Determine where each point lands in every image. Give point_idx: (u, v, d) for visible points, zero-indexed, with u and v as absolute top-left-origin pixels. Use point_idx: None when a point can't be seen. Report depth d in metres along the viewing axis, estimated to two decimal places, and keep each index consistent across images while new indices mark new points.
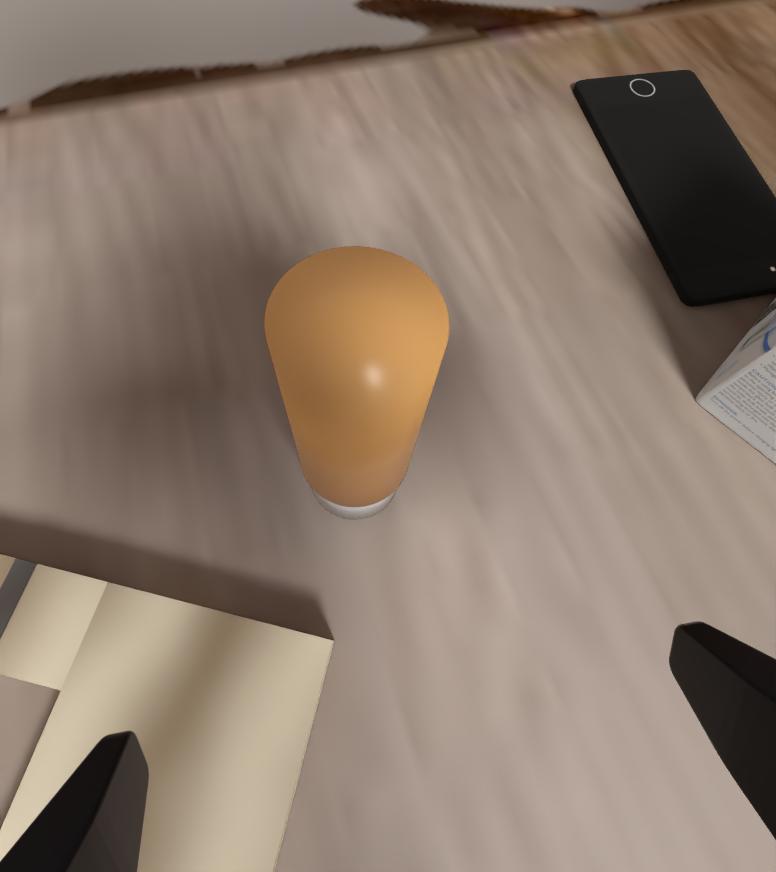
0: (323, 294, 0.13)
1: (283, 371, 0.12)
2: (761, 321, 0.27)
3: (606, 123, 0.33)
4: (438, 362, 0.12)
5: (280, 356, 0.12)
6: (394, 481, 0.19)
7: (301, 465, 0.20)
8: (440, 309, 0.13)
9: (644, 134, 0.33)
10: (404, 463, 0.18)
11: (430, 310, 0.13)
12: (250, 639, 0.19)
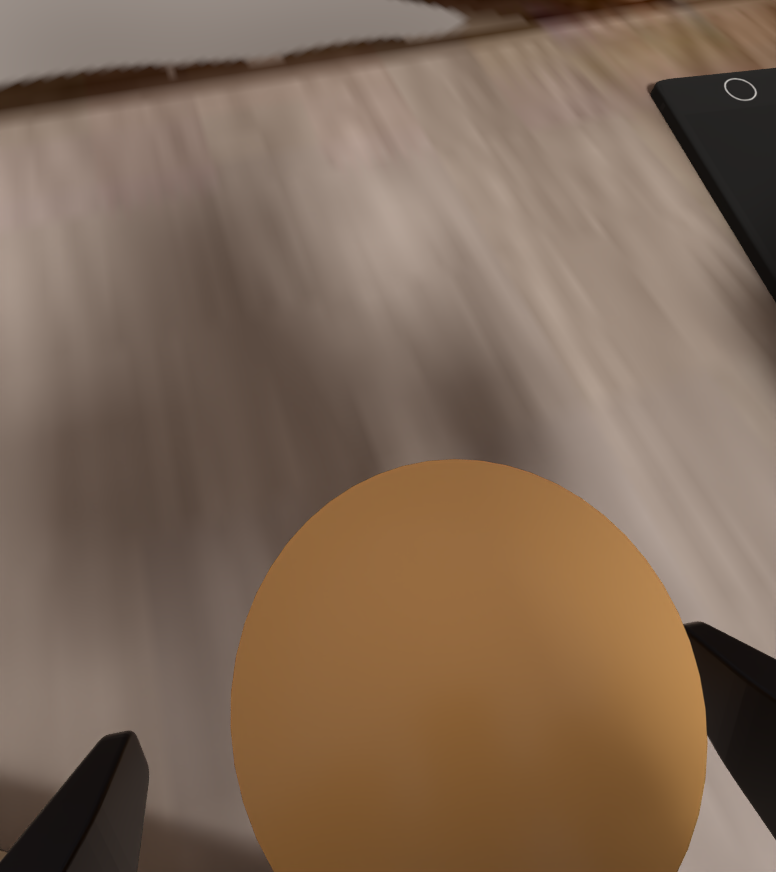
0: (380, 604, 0.05)
1: None
2: None
3: (700, 135, 0.26)
4: (693, 815, 0.05)
5: (272, 827, 0.04)
6: None
7: None
8: (673, 640, 0.05)
9: (750, 150, 0.26)
10: None
11: (648, 643, 0.05)
12: None
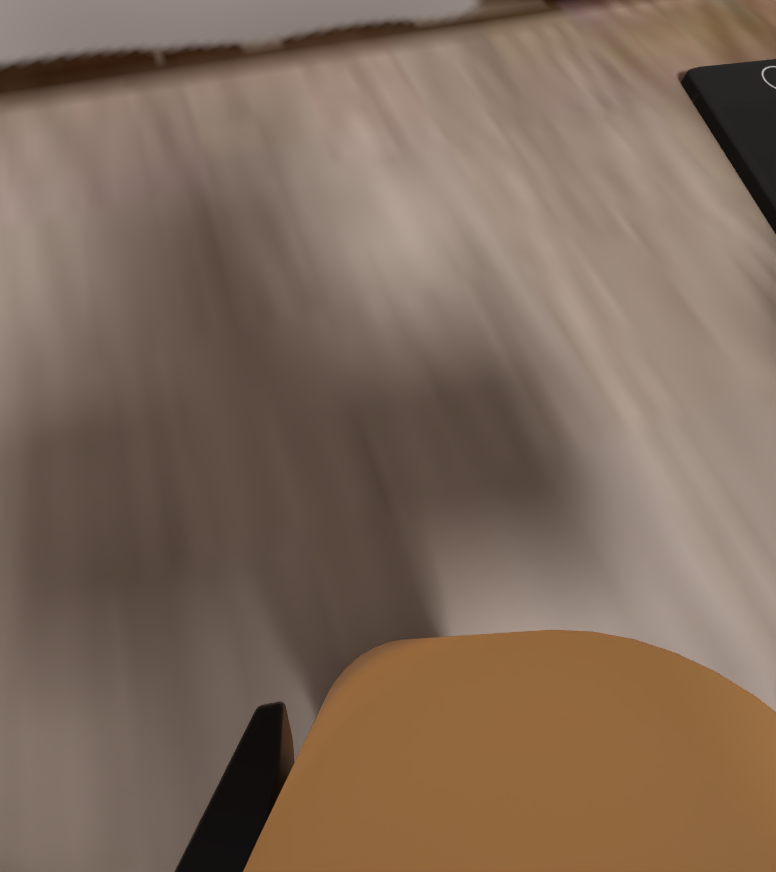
0: None
1: None
2: None
3: (737, 128, 0.23)
4: None
5: None
6: None
7: None
8: None
9: None
10: None
11: None
12: None
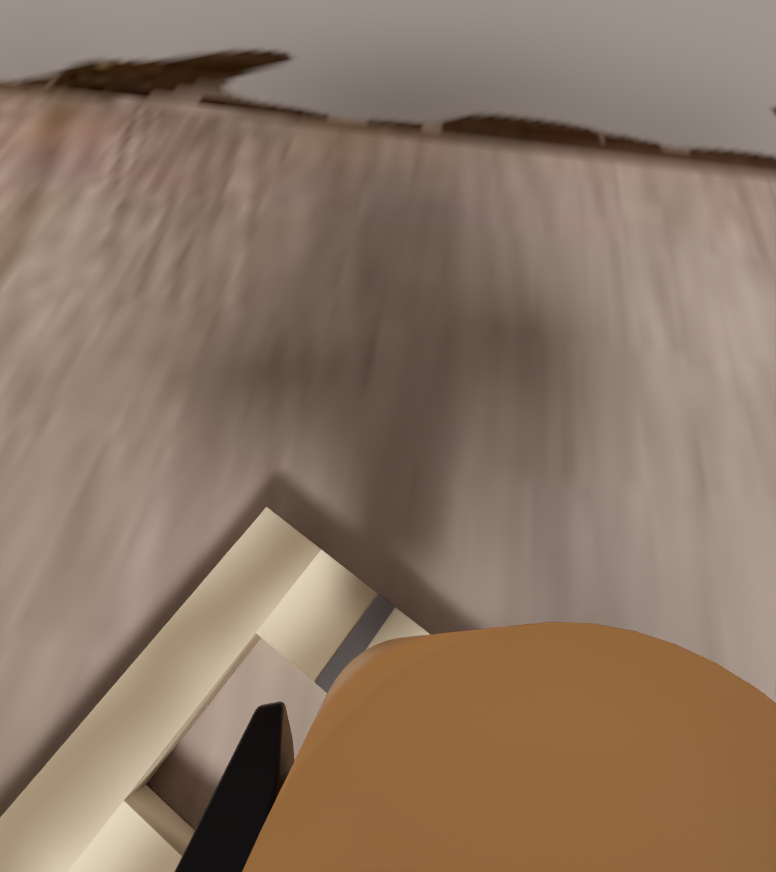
0: None
1: None
2: None
3: None
4: None
5: None
6: None
7: None
8: None
9: None
10: None
11: None
12: None
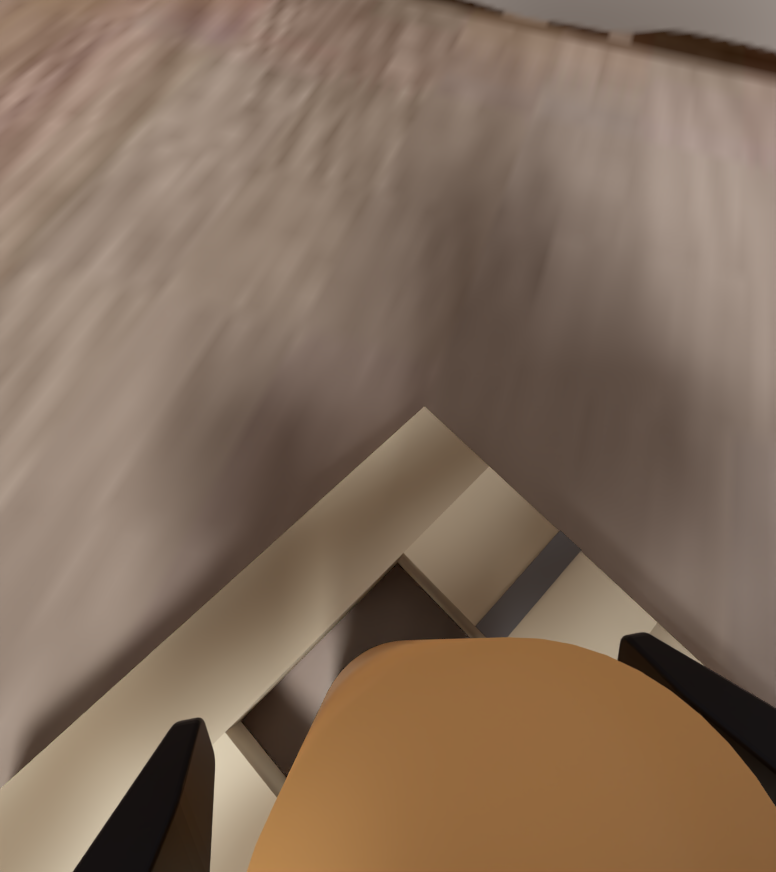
0: (419, 856, 0.04)
1: None
2: None
3: None
4: None
5: None
6: None
7: None
8: None
9: None
10: None
11: None
12: None
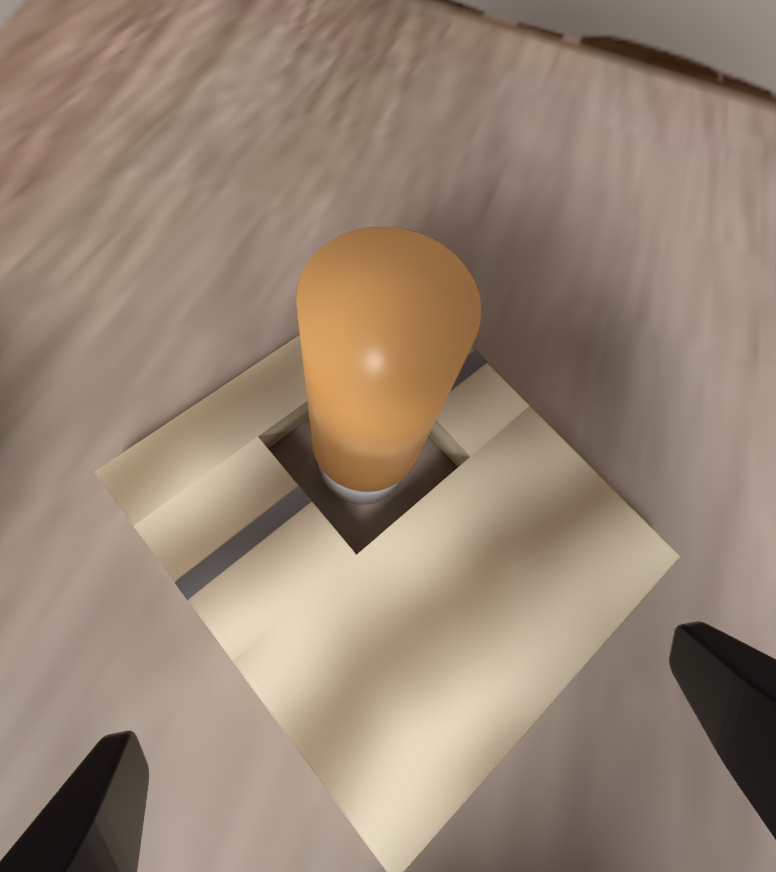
0: (356, 272, 0.13)
1: (313, 347, 0.12)
2: None
3: None
4: (468, 349, 0.12)
5: (310, 332, 0.12)
6: (406, 468, 0.19)
7: (312, 446, 0.20)
8: (473, 296, 0.13)
9: None
10: (418, 450, 0.18)
11: (463, 296, 0.13)
12: (616, 513, 0.22)
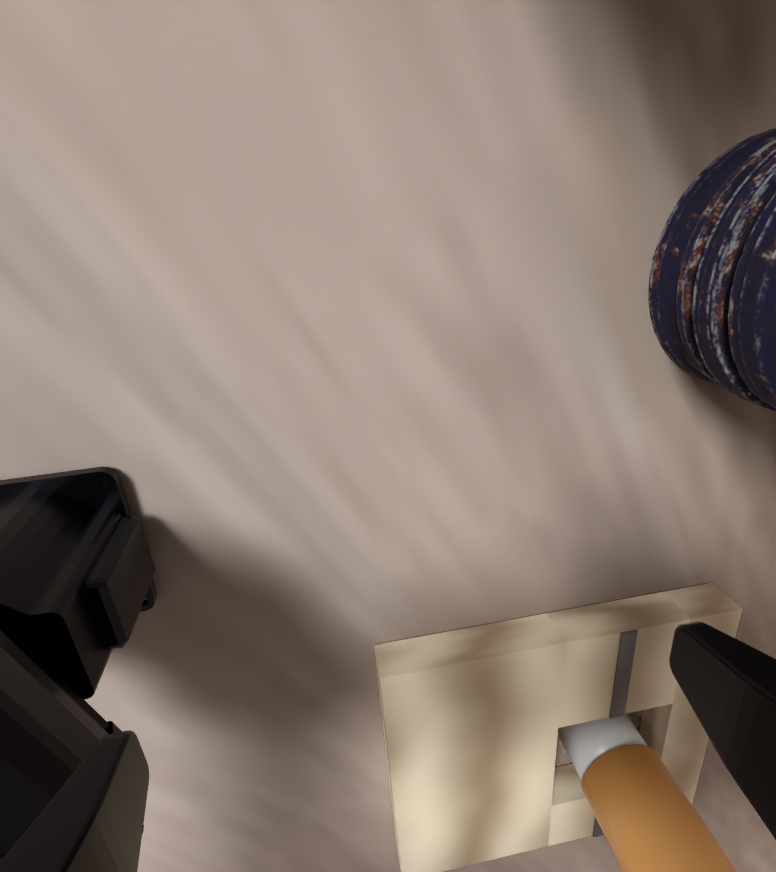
0: None
1: None
2: None
3: None
4: None
5: None
6: (599, 816, 0.26)
7: (648, 756, 0.26)
8: None
9: None
10: (612, 848, 0.25)
11: None
12: (452, 862, 0.30)
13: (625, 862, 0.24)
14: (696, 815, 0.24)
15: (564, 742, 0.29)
